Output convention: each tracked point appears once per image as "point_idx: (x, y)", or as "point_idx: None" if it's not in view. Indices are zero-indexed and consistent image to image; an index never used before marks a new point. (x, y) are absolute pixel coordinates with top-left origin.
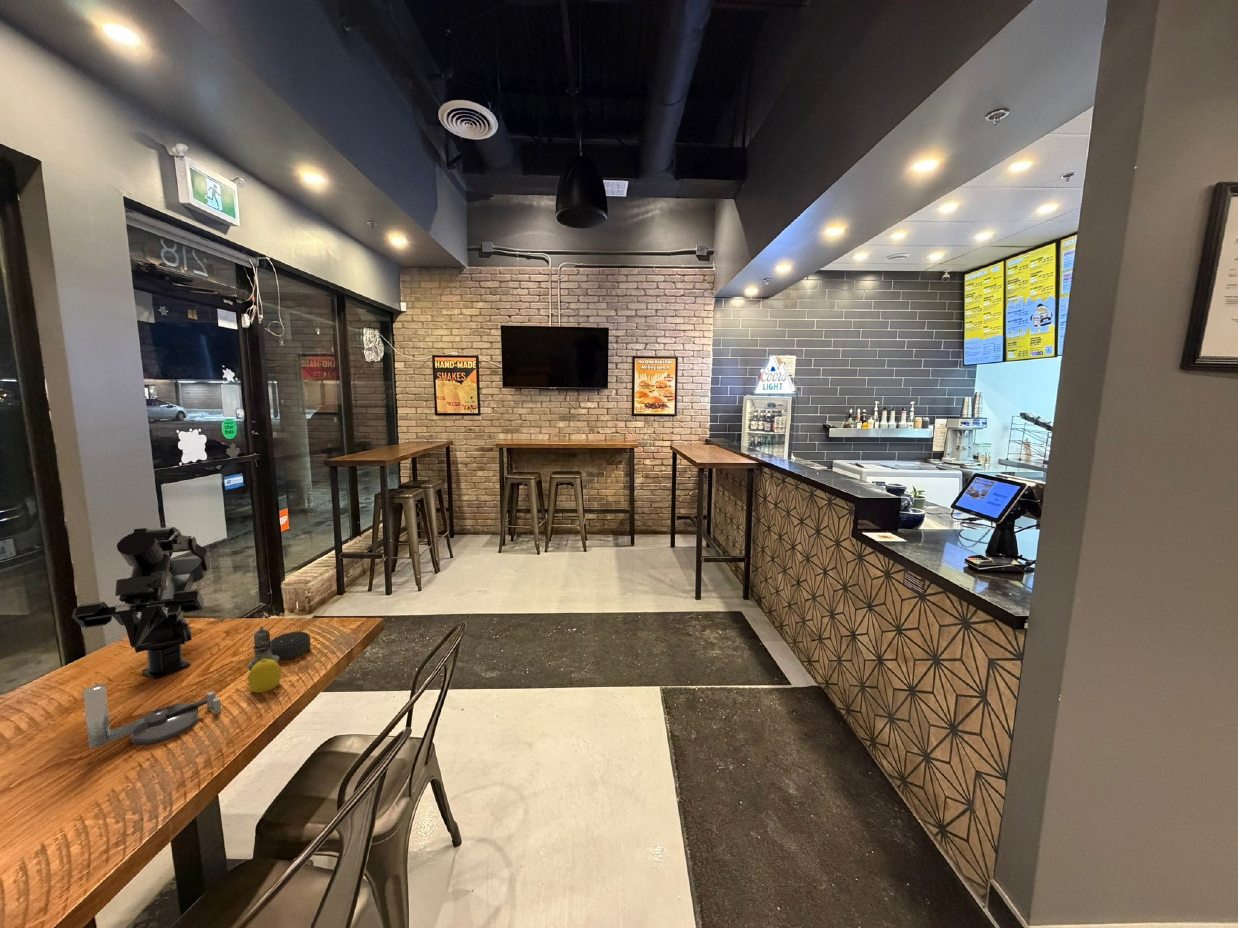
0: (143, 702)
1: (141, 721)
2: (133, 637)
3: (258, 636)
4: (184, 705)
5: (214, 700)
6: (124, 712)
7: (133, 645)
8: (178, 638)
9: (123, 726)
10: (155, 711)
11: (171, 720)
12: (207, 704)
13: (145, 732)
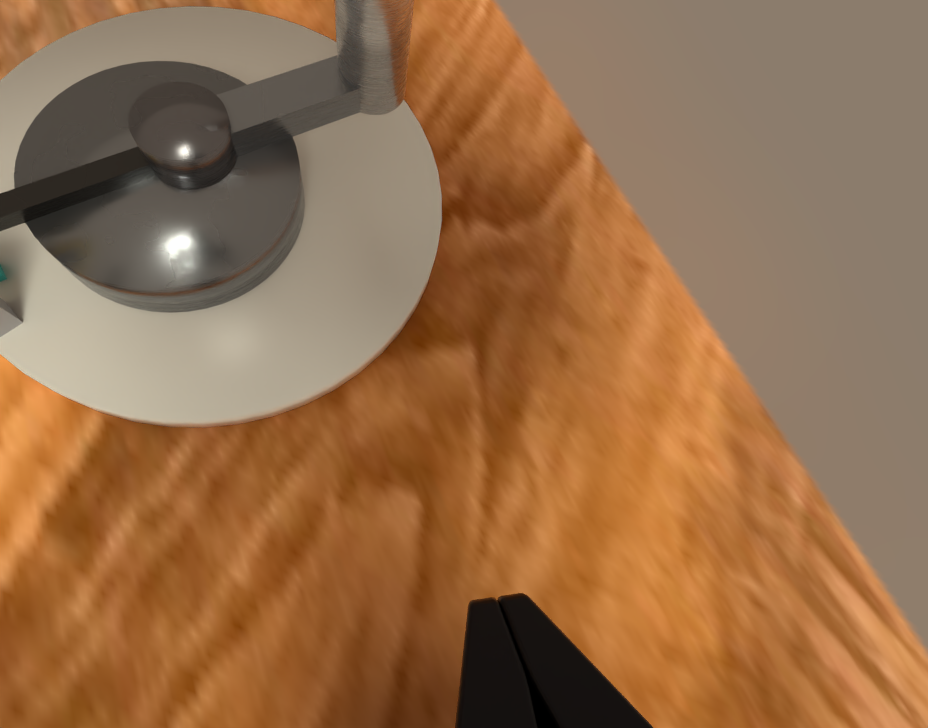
0: (419, 629)
1: (237, 103)
2: (546, 684)
3: None
4: (94, 253)
5: None
6: (468, 543)
7: (498, 600)
8: None
9: (306, 101)
10: (189, 140)
11: (126, 130)
12: (9, 313)
13: (215, 81)
